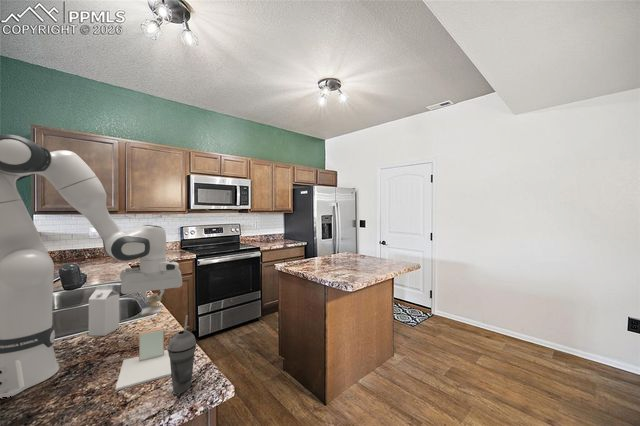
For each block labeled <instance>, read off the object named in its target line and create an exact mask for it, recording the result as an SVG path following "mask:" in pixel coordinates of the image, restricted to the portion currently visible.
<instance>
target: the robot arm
mask: <svg viewBox="0 0 640 426" xmlns="http://www.w3.org/2000/svg"><path fill="white" fill-rule="evenodd" d="M33 175H39V176H42V177H44V178H45V179H46V180H47V181H48V182H49V183H50V184H51V185H52V186H53V187H54V188H55V190H56V191H57V192H58V194H59V195H60V196H61V198H63V199H64V200H65V202H66V203H68V204H69V205H70V206H71V207H73V209H75V210H76V211H77V212H78V213H80V214H81V215H82V216H84V217H85V218H86V219H87V220H88V222H89V223H90V224H91V225H92V227H93V228H94V229H95V231H96V232H97V234H98V236H100V238H101V240H102V244H103V245H102V246H103V250H104V253H105V254H106V255H107V256H108V257H110V258H111V259H114V260H118V261H121V262H129V261H133V260H137V259H139V267H137V266H136V267H132V268H130V267H128V268H125V269H123V270H121V272H120V273H119V277H120V280H121V285H120V293H121V294H122V295H126V294H127V295H128V294H135V293H136V294H137V293H141V297H143V298H144V304H149V299H150V296H148V295H147V292H150V291H151V292H152V291H160V294H158V296H157V302H160V301H162V296H163V294H164V293H165V290H167V289H169V290H170V289H175V288H181V287H182V285H183V276H182V272H181V270H180V264H179V263H178V262H177V261H172V260H167V254H166V250H167V235H166V233H167V232H166V230H165V228H164V227H162V226H159V225H151V224H144V225H141V226H140V227H139V228H137V229H135V230H133V231H129V232H127V233H126V232H124V231H123V230H122V229H121V227H119V225H118V224H117V222H116V221H115V220H114V219H113V217H112V216H111V214H110V212H109V210H108V208H107V199H108V198H107V197H108V195H107V193H106V190H105V188H104V185H103V183H102V182H101V180H100V179H99V177H98V176H97V175H96V174H95V172H94V171H93V169H91V167H90V166H89V165H88V164H87V163H86V162H85V161H84V160H83V159H82V158H81V157H80V155H78V154H77V153H75V152H74V151H71V150H66V149H64V150H63V149H62V150H54V151H50V150H49V149H47V148H46V147H44V146H42V145H39V144H38V143H36V142H34V141H32V140H31V139H29V138H26V137H24V136H21V135H17V134H10V133H9V134H7V133H6V134H0V398H1V399H3V398H2V397H7V398H10V396H11V397H13V396H16V395H17V394H19V393H21V392H23V391H25V390H26V389H28V388H29V389H30V388H31V387H34V386H36V385H38V384H40V383H42V382H44V381H47V380H48V379H49V378H51V377H53V376H54V375H56V373H58V372H59V370H60V366H59V363H58V361H57V358H56V353H55V350H54V349H55V348H54V343H55V341H56V340H55V337H56V331H55V325H54V324H53V298H54V280H55V279H54V276H55V275H54V274H55V273H54V272H55V264H54V260H53V259H52V257H51V255H50V254H49V252H48V249H47V248H46V246H45V243H44V242H43V240H42V238H41V235H40V233H39V231H38V229H37V227H36V225H35V223H34V221H33V219H32V217H31V215H30V213H29V211H28V209H27V207H26V205H25V203H24V200H23V199H22V196H21V195H20V193H19V190H18V188H17V182H19V181H21V180H22V179H25V178H29V177H30V176H33Z"/></svg>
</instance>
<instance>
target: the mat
mask: <svg viewBox="0 0 640 426" xmlns="http://www.w3.org/2000/svg"><path fill="white" fill-rule="evenodd" d="M169 376H170V377H171V365H170V358H169V354H168V349H164V355H163V356H159V357H155V358H151V359H146V360H142V361H139V356H138V355H137V356H134V357H130V358H126V359H123V361H122V365H121V367H120V372H119V374H118V378H117V381H116V385H115V390H114V391H120V390H123V389H127V388H130V387H135V386H137V385H141V384H145V383H148V382H152V381H156V380H158V379H163V378H167V377H169Z"/></svg>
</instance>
